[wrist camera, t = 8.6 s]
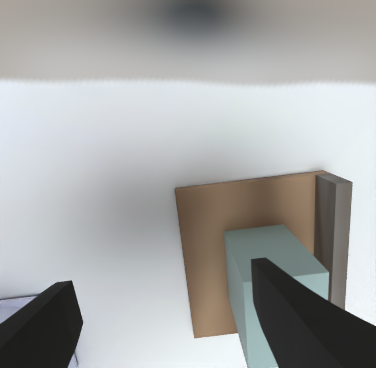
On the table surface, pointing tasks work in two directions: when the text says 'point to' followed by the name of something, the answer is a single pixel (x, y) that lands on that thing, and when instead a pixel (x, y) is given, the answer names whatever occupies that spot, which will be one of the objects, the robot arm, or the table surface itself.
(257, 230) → the carton
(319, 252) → the shelf board
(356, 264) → the table surface
